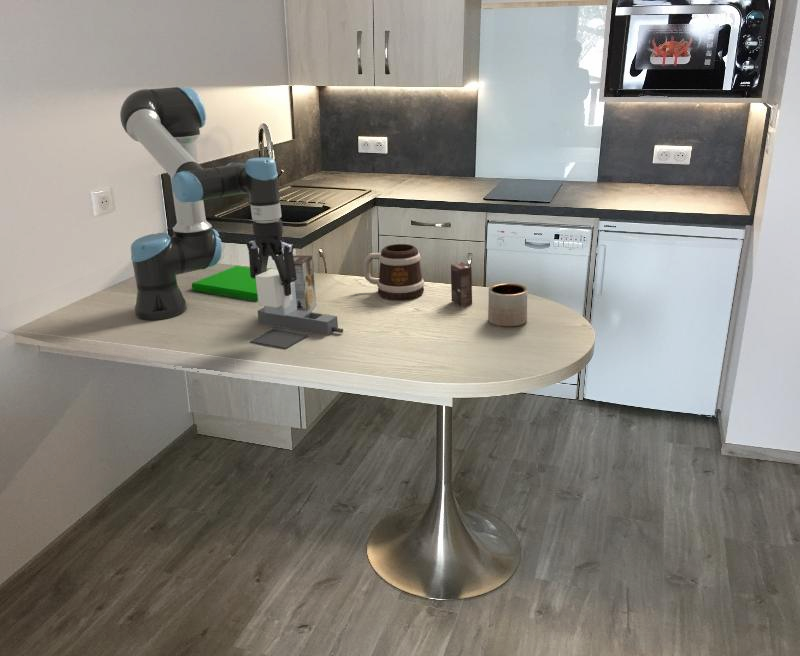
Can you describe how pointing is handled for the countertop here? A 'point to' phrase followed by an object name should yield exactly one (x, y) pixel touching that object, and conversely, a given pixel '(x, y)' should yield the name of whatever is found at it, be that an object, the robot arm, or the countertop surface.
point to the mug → (397, 272)
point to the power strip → (302, 321)
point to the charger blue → (288, 309)
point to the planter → (507, 305)
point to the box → (461, 284)
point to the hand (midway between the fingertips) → (276, 305)
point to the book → (230, 284)
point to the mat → (279, 338)
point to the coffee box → (304, 283)
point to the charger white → (270, 289)
